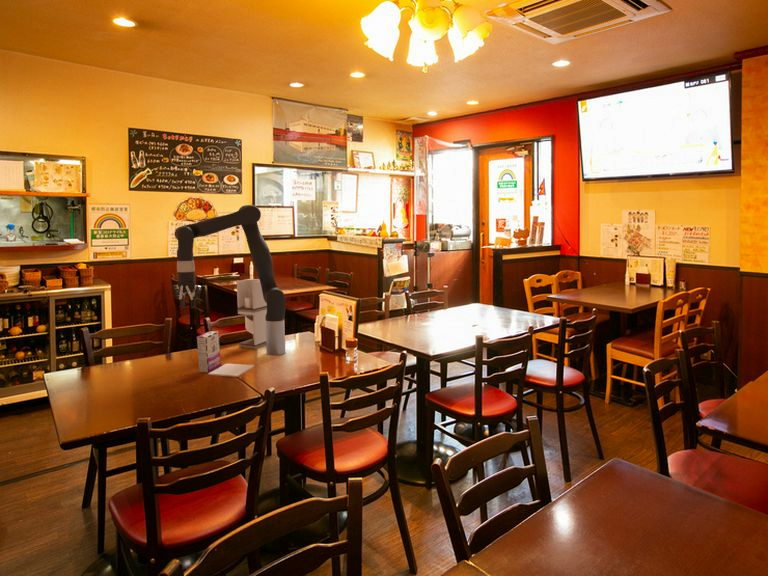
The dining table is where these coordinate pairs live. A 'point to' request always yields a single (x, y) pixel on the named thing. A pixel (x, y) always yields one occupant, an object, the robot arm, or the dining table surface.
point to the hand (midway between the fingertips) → (187, 307)
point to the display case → (252, 311)
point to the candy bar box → (208, 351)
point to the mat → (231, 370)
